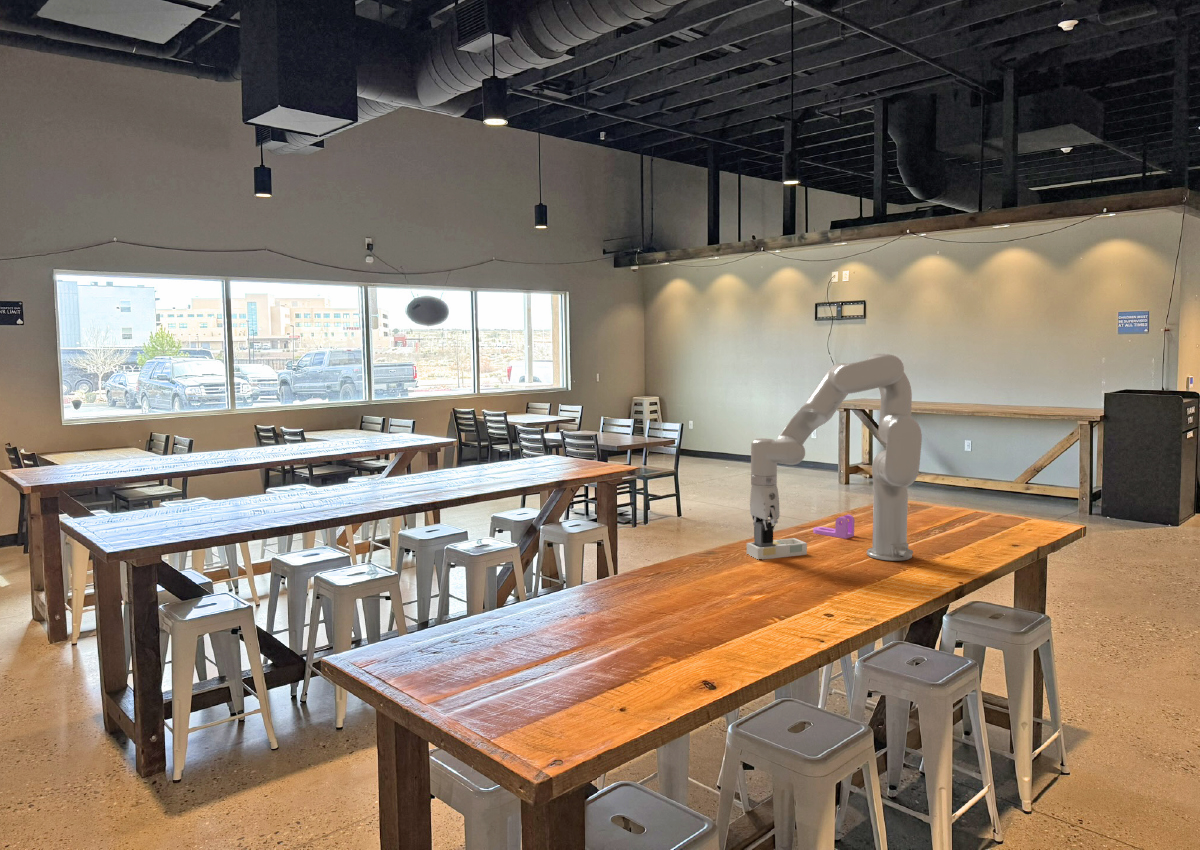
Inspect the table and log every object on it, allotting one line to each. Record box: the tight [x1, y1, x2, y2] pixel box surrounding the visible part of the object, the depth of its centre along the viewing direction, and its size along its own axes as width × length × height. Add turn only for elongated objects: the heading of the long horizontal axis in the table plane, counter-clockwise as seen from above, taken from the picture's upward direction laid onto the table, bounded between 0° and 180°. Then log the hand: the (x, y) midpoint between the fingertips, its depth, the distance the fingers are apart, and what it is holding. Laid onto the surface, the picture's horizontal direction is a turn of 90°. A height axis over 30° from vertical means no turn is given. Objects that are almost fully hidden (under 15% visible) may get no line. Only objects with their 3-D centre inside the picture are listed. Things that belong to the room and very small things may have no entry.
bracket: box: [812, 514, 855, 540], centre depth 269 cm, size 13×6×7 cm, turn 45°
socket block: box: [746, 537, 808, 561], centre depth 245 cm, size 7×17×4 cm, turn 108°
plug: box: [754, 521, 773, 547], centre depth 243 cm, size 4×4×8 cm
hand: (763, 540), depth 243 cm, fingers open, 4 cm apart
